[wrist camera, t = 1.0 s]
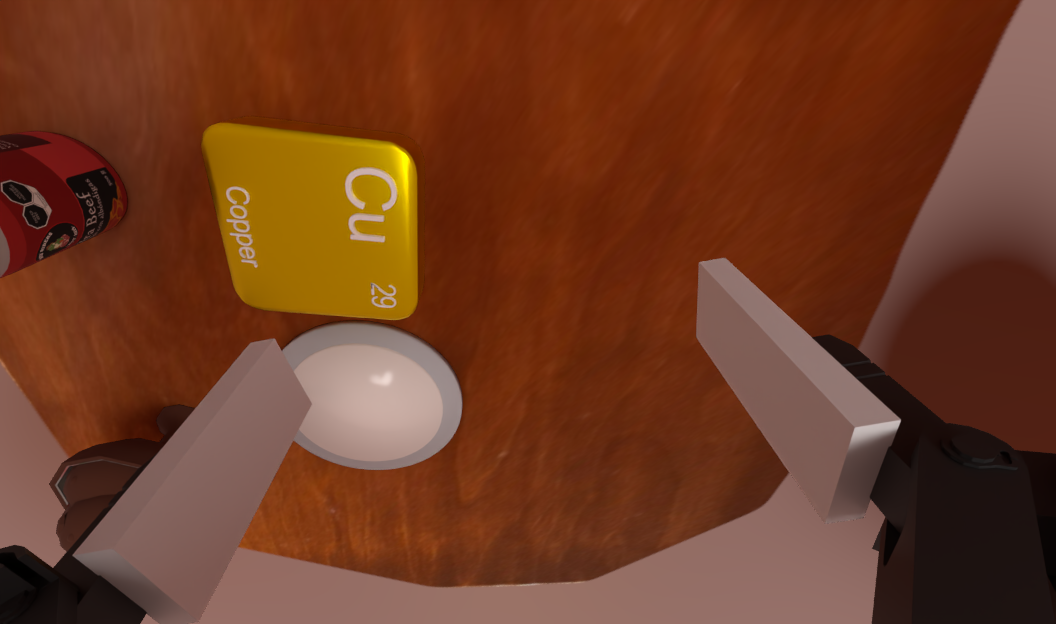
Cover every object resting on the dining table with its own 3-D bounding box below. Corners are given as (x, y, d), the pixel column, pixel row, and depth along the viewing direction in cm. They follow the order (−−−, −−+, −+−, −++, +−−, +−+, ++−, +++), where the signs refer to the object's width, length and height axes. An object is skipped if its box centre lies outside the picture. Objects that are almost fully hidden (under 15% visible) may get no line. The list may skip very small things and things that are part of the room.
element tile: (225, 111, 33) (186, 119, 29) (426, 135, 35) (415, 146, 31) (261, 286, 41) (234, 312, 37) (425, 299, 42) (416, 326, 38)
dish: (229, 386, 46) (221, 395, 44) (369, 283, 41) (365, 290, 39) (369, 485, 54) (366, 496, 53) (498, 411, 49) (498, 420, 48)
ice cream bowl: (129, 372, 44) (-25, 503, 31) (248, 404, 47) (152, 536, 34) (126, 442, 49) (-9, 582, 36) (234, 467, 52) (145, 605, 39)
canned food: (114, 247, 38) (-16, 311, 28) (3, 185, 35) (-184, 234, 25) (146, 178, 35) (15, 223, 25) (30, 105, 32) (-168, 126, 23)
